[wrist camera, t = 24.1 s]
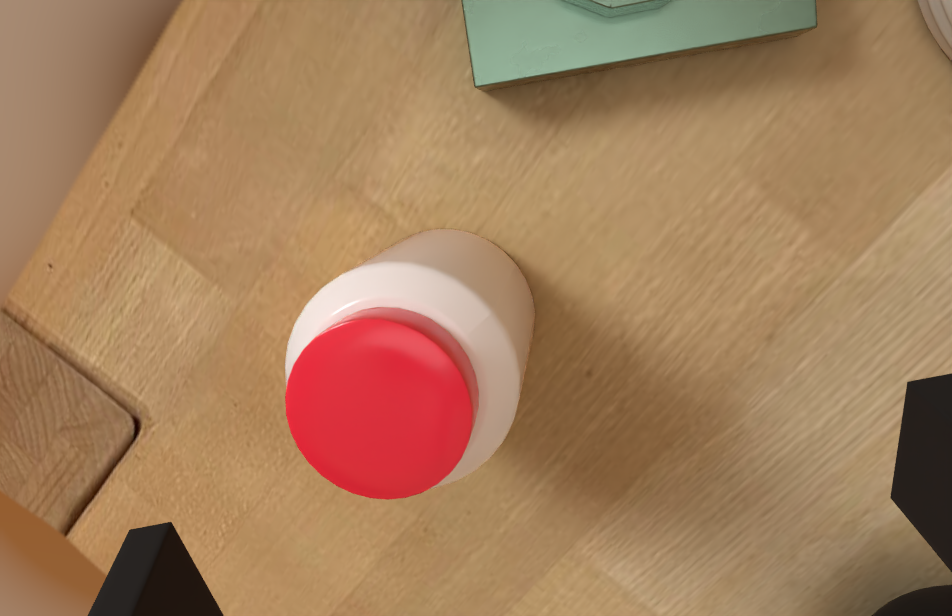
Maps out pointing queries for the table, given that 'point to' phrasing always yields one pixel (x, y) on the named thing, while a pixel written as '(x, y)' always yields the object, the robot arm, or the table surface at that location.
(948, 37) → the jar
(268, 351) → the table surface
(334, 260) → the table surface
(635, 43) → the button box
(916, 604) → the decorative ball
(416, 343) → the pill bottle
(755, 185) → the table surface
